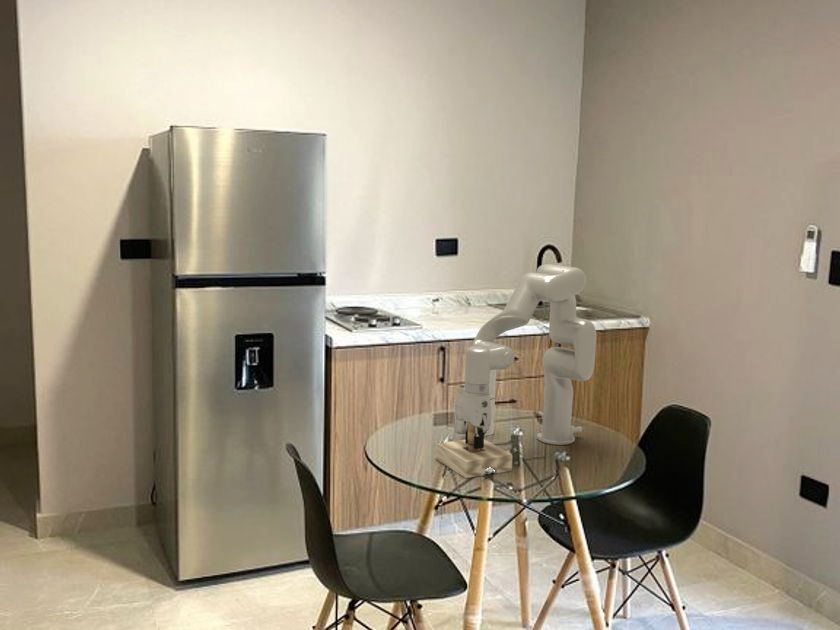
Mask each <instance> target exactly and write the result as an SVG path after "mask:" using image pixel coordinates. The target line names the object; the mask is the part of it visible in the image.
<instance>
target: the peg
mask: <svg viewBox="0 0 840 630" xmlns="http://www.w3.org/2000/svg"><path fill="white" fill-rule="evenodd" d="M480 425H482V424H480ZM480 429H481V428H479V430H480ZM474 436H476V434H475V426H474V425H472V424H471V422H469V421H468V441H467V444H468V452H470V453H474V452H480V449H474Z"/></svg>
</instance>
